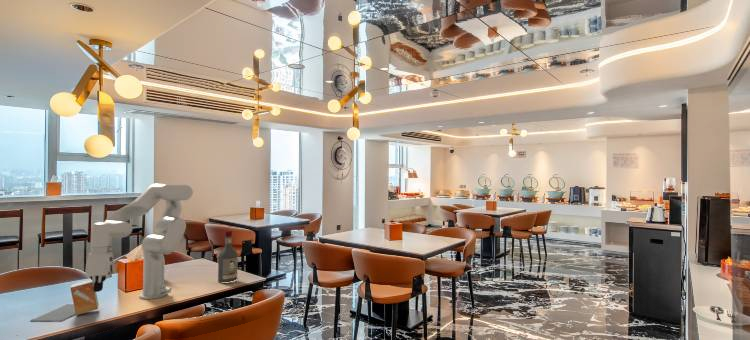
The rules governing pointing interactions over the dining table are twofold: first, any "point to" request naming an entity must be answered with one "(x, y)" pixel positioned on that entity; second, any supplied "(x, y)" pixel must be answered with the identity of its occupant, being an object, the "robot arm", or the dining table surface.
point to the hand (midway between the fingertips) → (98, 290)
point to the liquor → (227, 261)
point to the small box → (84, 297)
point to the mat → (58, 314)
